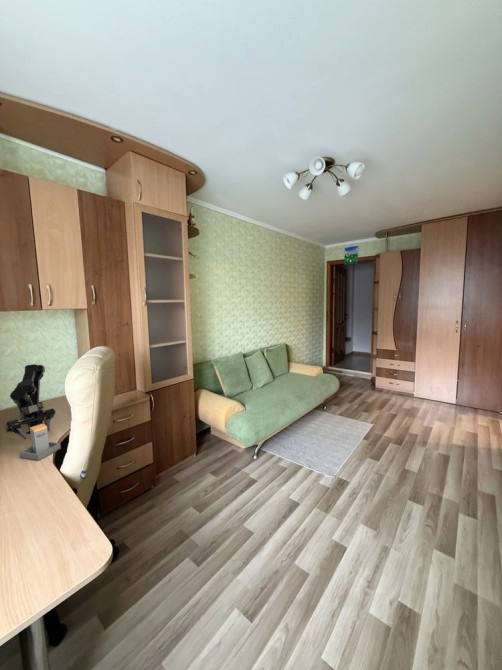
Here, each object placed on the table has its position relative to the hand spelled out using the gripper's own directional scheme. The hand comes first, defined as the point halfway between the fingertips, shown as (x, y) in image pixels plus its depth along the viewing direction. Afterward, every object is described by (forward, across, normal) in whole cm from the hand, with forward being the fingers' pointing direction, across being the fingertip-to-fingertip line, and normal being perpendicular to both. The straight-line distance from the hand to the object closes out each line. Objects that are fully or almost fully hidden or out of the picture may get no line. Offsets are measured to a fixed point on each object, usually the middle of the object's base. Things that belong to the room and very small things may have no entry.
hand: (37, 434), depth 127 cm
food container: (-25, +12, +38) cm, 47 cm away
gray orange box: (+7, 0, +4) cm, 8 cm away
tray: (+8, 0, +4) cm, 9 cm away
